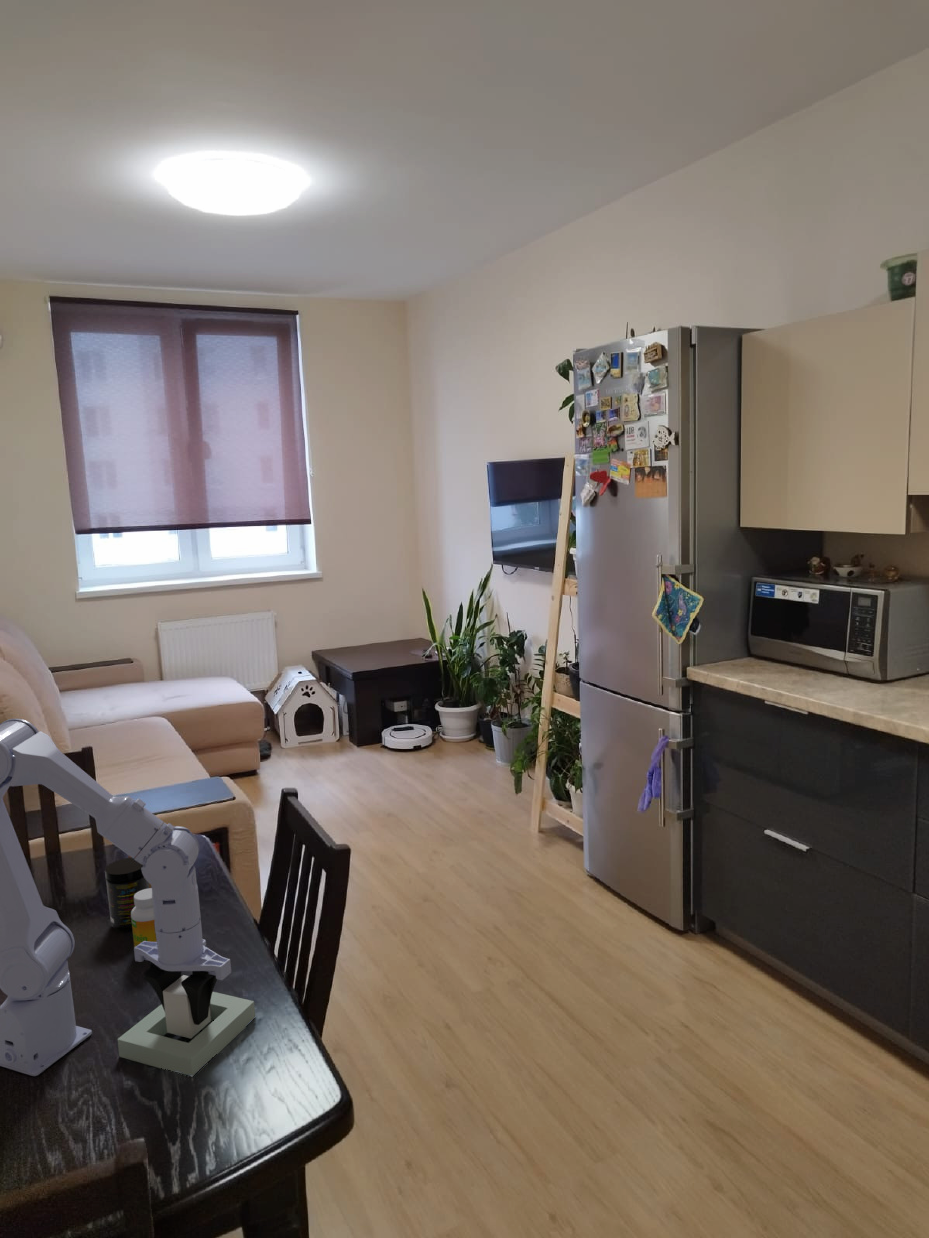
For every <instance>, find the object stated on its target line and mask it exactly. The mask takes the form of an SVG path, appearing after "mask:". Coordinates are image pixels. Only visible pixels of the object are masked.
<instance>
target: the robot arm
mask: <svg viewBox="0 0 929 1238" xmlns="http://www.w3.org/2000/svg"><path fill="white" fill-rule="evenodd" d="M33 785H41V786H44V787H46V788H47V789H49V790H50V791H51V792H53V793H55V794H56V795H58V796H60V797H62V798H63V799H64V800H66V802H67V801H68V802H69V803H70V804H72V805H74V806H75V807H77V808H79V809H80V810H81V811H83V812H85V813H86V814H87V815H89V816H91V817H92V818H94V820H95V824H96V826H95V827H96V830H97V831H96V832H97V833H98V834H99V835H100V836H101V837H103V838H105V839H106V840H107V841H109V842H110V843H111V844H113V845H114V846H115V847H116V848H118V849H119V850H121V851H122V852H123V853H125V854H126V855H127V856H128V855H129V856H130V857H132V858H133V859H134V858H135V859H134V860H136V861H137V862H139V863H140V864H142V865H144V866H143V867H142V868H141V870H142V874H143V876H144V878H145V879H146V880H147V881H148V882H149V883H150V884H151V886H152V900H153V909H154V919H155V929H156V939H157V942H148V941H143V942H142V943H140V944H139V945H137V946H136V947H134V946H133V951H134V952H133V953H134V960H135V962H139V963H141V962H144V960H145V961H150V965H149V968H147V969H146V970H145V971H144V972H143V978H144V979H145V980H146V982H148V984H149V985H150V987H152V989H153V990H154V992H155V993H156V995H157V997H158V999H159V1001H160V1005H161V1004H162V1006H163V1009H164V1011H165V1007H164V998H163V991H164V990H165V989H166V988H167V987H169V986H170V985H171V984H172V983H174V982H175V981H176V980H178V979H179V978H180V977H181V976H182V972H192V973H191V974H190V975H187V976H188V977H187V978H186V979H185V980H183V981H182V982H181V985H182V986H183V988H184V990H185V992H186V994H187V996H188V999H189V1002H190V1007H191V1014H192V1019H193V1022H194V1024H196V1025H199V1024H200V1023H202V1022H203V1021H204V1020H205V1019H206V1018H207V1017H208V1012H209V1006H210V1001H211V996H212V992H214V988H215V986H216V983H217V981H218V980H219V981H223V980H224V979H225V978H227V977H229V975H230V974H231V973H232V967H231V966H232V965H231V959H230V958H227V957H224V956H221V955H220V954H218V953H216V952H215V951H213V950H211V949H210V948H209V947H207V941H206V939H204V938H203V930H202V929H203V927H202V920H201V910H200V909H201V908H200V896H199V886H198V883H197V882H198V881H197V874H196V873H197V872H196V871H197V870H196V866H194V864H195V862H196V861H197V858H198V856H199V854H200V853H199V852H200V843H199V841H198V839H197V837H196V836H195V834H193V833H192V831H191V830H190V829H189V828H187V827H185V826H181V825H180V826H179V825H178V826H177V825H175V826H174V825H173V824H171V823H170V822H169V823H166V822H164V821H163V820H162V819H161V818H159V817H158V816H157V815H155V814H154V813H152V812H151V811H150V810H148V809H147V808H146V807H145V806H147V803H146V802H144V801H143V800H142V799H141V798H137V799H134V798H132V797H131V796H129V795H123V796H114V795H113V794H112V793H110V792H109V791H108V790H106V788H104V787H103V786H102V785H101V784H99V783H98V782H97V781H96V779H94V778H92V776H90V774H88V773H87V772H86V771H84V770H83V769H82V768H81V767H80V766H79V765H77V764H76V763H75V762H73V760H71V759H70V758H69V757H68V756H66V755H65V753H63V752H62V751H61V750H59V748H58V746H57V745H56V744H55V743H54V741H53V739H52V737H50V735H49V734H47V733H45V732H44V731H42V730H40V731H39V730H38V728H37V727H36V726H35V724H32V723H31V722H29V721H28V720H26V719H22V718H9V719H7V720H4V721H2V722H1V723H0V990H1V991H2V993H4V994H5V995H6V996H7V997H6V998H5V1000H4V1001H3V1003H2V1004H0V1067H2V1068H6V1069H8V1070H12V1071H15V1072H18V1073H22V1074H25V1075H28V1076H32V1077H36V1076H39V1075H40V1074H41V1073H43V1072H44V1071H46V1069H48V1068H49V1067H51V1066H52V1065H53V1064H54V1063H56V1062H57V1061H58V1060H60V1059H61V1058H62V1057H64V1056H65V1055H66V1054H68V1053H69V1052H71V1050H73V1049H75V1047H78V1045H80V1043H81V1044H82V1042H83V1041H85V1040H86V1039H87V1038H89V1037H90V1036H91V1035H92V1034H93V1031H92V1029H90V1028H85V1027H82V1026H79V1025H77V1024H76V1023H77V1022H76V1018H75V1017H76V1014H75V1008H74V999H73V998H74V997H73V991H72V983H71V975H70V970H69V963H68V959H69V958H70V957H71V956H72V953H73V952H74V950H75V944H76V943H75V937H74V934H73V933H72V931H71V929H70V928H69V927H68V926H67V925H65V924H64V923H63V922H62V921H61V919H60V917H59V914H58V912H57V910H55V909H53V908H50V907H47V906H45V905H44V903H43V902H42V899H41V896H40V894H39V891H38V888H37V885H36V883H35V880H34V878H33V875H32V872H31V869H30V866H29V865H28V864H29V863H28V862H27V859H26V857H25V855H24V851H23V849H22V845H21V843H20V842H19V841H20V840H19V839H18V835H17V833H16V831H15V829H14V825H13V823H12V820H11V818H10V815H9V812H8V810H7V807H6V805H5V802H4V796H5V794H6V793H7V791H8V790H9V788H10V787H19V786H21V787H22V786H33ZM137 854H138V855H137ZM136 855H137V856H136ZM135 856H136V857H135Z"/></svg>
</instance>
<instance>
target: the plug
mask: <svg viewBox="0 0 929 1238" xmlns="http://www.w3.org/2000/svg"><path fill="white" fill-rule="evenodd" d="M188 976H189V975H184V974H183V975H181V977H180V978H179V979H178V980H176V981H175V982H174V983H172V984H171V985H170V986H169V987H167V988H166V989H165V990H164V991H163V998H164V1007H165V1017H166V1026H167V1034H172V1035H175V1036H180V1037H184V1038H186V1039H191V1040H192V1039H193V1038H195V1037H196V1036H197V1035H198V1034H199V1033H200V1031H201V1030H204V1029H205V1028H206V1027H207V1026H208V1025H209V1024H210V1023H211V1021H212V1020H211V1017H210V1016H211V1015H212V1011H211V1001H210V1006H209V1012H208V1017H207V1018H206V1019H205V1020H204V1021H203V1022H202V1023H200V1024H199V1025H196V1024H194V1022H193V1019H192V1014H191V1007H190V1002H189V999H188V996H187V994H186V992H185V990H184V988H183V986H182V985H181V982H182V981H183V980H185V979H186V978H187V977H188Z"/></svg>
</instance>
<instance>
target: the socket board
mask: <svg viewBox="0 0 929 1238" xmlns="http://www.w3.org/2000/svg"><path fill="white" fill-rule="evenodd" d="M211 1011H212V1015H211V1016H210V1017H211V1021H212V1022H210V1023H208V1024H207V1025H206V1026H205V1027H204V1028H203V1029H202V1031H201V1032H200V1031H199V1032H198V1033H197V1034H196V1035H195V1036H194V1037H193V1038H192V1039H191V1040H190V1041H189V1042H186V1041H182V1040H178V1039H174V1038H171V1037H167V1036H165V1035H166V1034H168V1033H167V1026H166V1017H165V1011H164V1009H163V1006H162V1004H161V1003H160V1004H159V1005H158V1006H157V1007H156V1008H155V1009H154V1010H152V1011H151V1012H149V1014H147V1015H145V1017H144V1018H142V1019H141V1020H140V1021H139V1022H137V1023H136V1024H134V1026H132V1027H131V1028H130V1029H129V1030H127V1031H126V1032H125V1033H123V1034H122V1035H120V1037H118V1038H117V1040H116V1041H117V1047H118V1056H119V1057H120V1058H123V1059H126V1060H130V1061H133V1062H137V1063H140V1064H144V1065H147V1066H151V1067H155V1068H158V1069H161V1068H162V1069H161V1070H165V1069H166V1070H165V1071H168V1070H171V1071H170V1072H172V1071H179V1072H181V1073H182V1072H183V1073H184V1074H189V1075H194V1074H195V1073H196V1072H197V1071H199V1069H200V1068H201V1067H202V1066H203V1065H204V1064H206V1063H207V1062H208V1061H209V1060H210V1059H211V1058H212V1057H214V1056H215V1055H216V1054H217V1055H218V1054H219V1053H221V1051H222V1050H224V1048H225V1047H227V1046H228V1045H229V1044H230V1043H231V1042H232V1041H233V1040H234V1039H235V1038H236V1037H237V1036H238V1035H239V1034H240V1033H241V1032H243V1031H244V1030H245V1028H246V1027H245V1026H247V1024H248V1023H249V1022H250V1021H251V1020H253V1018H254V1017H255V1016H256V1006H255V1001H254V1000H250V999H246V998H241V997H238V996H234V995H230V994H229V995H228V994H224V993H220V992H216V991H213V992H212V996H211ZM213 1020H214V1021H213ZM253 1021H254V1020H253ZM217 1055H216V1056H217ZM216 1056H215V1057H216ZM215 1057H214V1058H215ZM207 1064H208V1063H207ZM207 1064H206V1065H207ZM167 1069H168V1070H167ZM199 1072H200V1071H199Z"/></svg>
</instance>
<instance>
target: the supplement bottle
mask: <svg viewBox="0 0 929 1238" xmlns="http://www.w3.org/2000/svg"><path fill="white" fill-rule="evenodd" d="M134 904H135V907H134V908H133V909H132V911H131V921H132V938H133V948H134V947H136V946H137V945H139V944H140V943H142V942H143V941H148V942H157V939H156V929H155V919H154V909H153V900H152V888H148V889H144V890H141V891H139V892H137V893H136V894H135V895H134Z"/></svg>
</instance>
